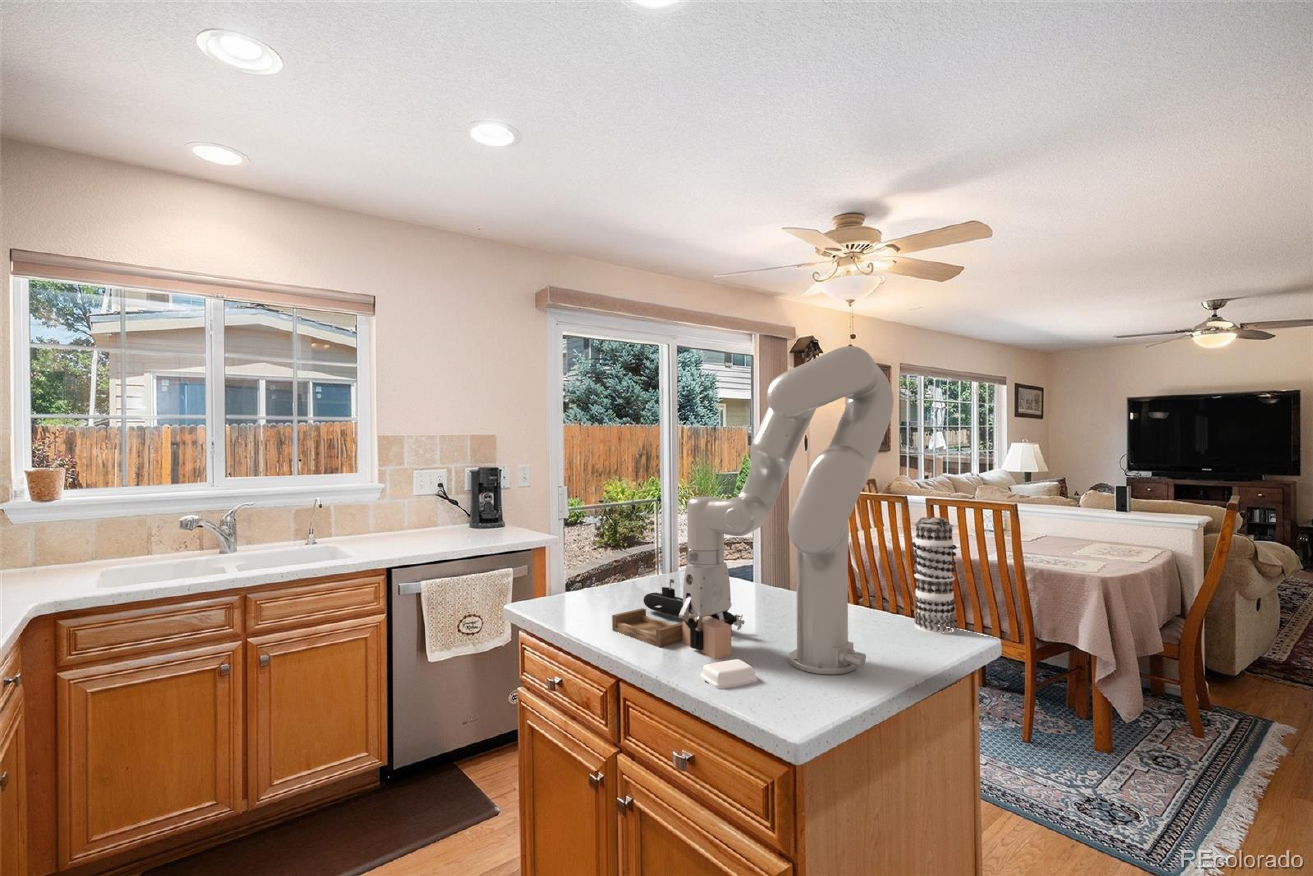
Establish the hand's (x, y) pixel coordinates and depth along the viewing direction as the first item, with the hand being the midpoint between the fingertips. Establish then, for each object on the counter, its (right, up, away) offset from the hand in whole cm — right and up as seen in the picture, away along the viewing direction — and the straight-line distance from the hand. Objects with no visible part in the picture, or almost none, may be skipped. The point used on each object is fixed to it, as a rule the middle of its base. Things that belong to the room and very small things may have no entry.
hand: (706, 645), depth 130 cm
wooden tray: (-11, -1, +10) cm, 15 cm away
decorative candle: (+52, -1, +13) cm, 54 cm away
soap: (+3, -1, -17) cm, 17 cm away
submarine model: (-2, -1, +18) cm, 18 cm away
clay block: (0, -1, 0) cm, 1 cm away
